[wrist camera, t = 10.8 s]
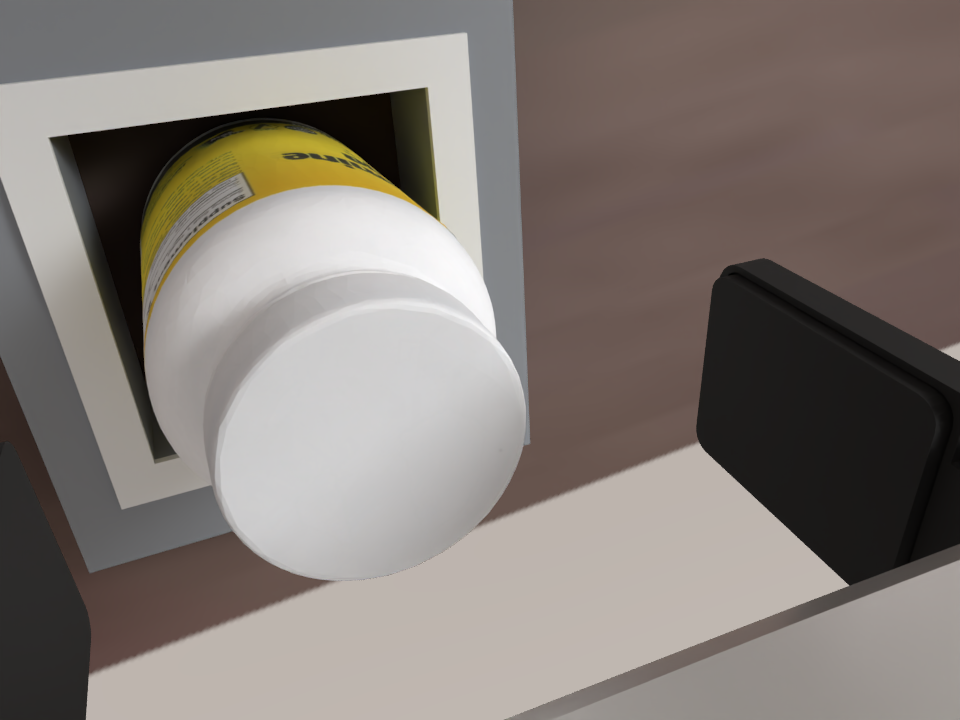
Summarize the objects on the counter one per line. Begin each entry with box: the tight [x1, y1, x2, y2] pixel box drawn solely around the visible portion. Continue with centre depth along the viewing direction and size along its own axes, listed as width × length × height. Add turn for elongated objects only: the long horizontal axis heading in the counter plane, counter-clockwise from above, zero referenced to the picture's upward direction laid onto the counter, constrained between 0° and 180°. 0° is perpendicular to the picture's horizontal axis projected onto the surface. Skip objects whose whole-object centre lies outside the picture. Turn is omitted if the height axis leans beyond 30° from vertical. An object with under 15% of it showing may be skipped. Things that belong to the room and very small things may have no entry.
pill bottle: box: [140, 118, 526, 581], centre depth 16 cm, size 6×6×11 cm
